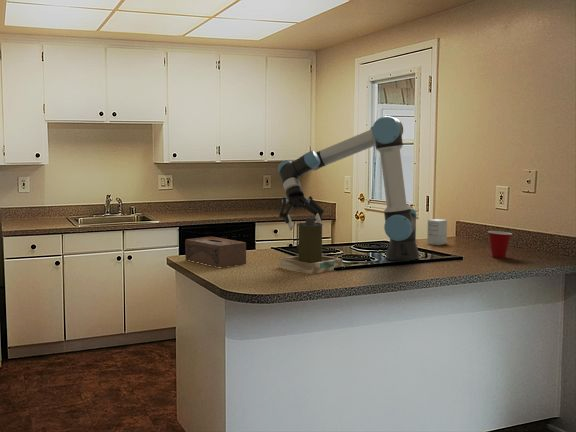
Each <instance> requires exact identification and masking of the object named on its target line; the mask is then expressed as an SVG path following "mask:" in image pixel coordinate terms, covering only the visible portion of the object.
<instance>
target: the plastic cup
mask: <svg viewBox="0 0 576 432" xmlns="http://www.w3.org/2000/svg"><path fill="white" fill-rule="evenodd" d="M487 233H488V236H489V244H490V245H489V246H490V251H491V256H492V258H496V259H505V258H506V256H507V250H508V248H509V243H510V238H511V236H512V235H513V233H512V232H508V231H498V230H487Z"/></svg>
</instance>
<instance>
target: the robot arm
mask: <svg viewBox="0 0 576 432" xmlns="http://www.w3.org/2000/svg"><path fill="white" fill-rule="evenodd" d="M403 126H404V125H403V123H402V121H401V120H399V119H398V118H397V117H395V116H394V117H393V116H392V115H384V116H381V117H379V118H377V119H376V120H375V121H374V123H373V126H371V127H370V129H369V130H367V131H364V132H362V133H360V134H357V135H354V136H352V137H349V138H347V139H345V140H342V141H341V142H337V143H336V144H332V145H330V146H327V147H325V148H324V149H321V150H318V151H314V150H310V151H308V152H306V153H304V154H303V155H301V156H300V157H298V158H297V159H295V160H294V161H291V160H289V159H287V160H283V161H281V162H280V163H279V164H278V166H277V169H278V176H279V179H280V180H281V183H282V185H283V189H284V192H285V195H286V197H285V196H284V197H282V199H281V207H280V211H279V214H278V217H279V218H282V219H283V220H284V223H285V224H287V225H288V229H289V231H292V230H293V228H294V224H293V221H292V218H291V216H290V212H291V211H292V210H293V208H295V209H298V208H299V209H300V208H303V209H304V210H306V211H308V212H310V213H311V214H313V215H314V218H317V219H315V222H316V223H321V224H323V222H322V221H323V218H322V215H324V214H323V213H324V210H323V208H322V207H320V205H319V204H318V203H316V201H315V200H314V199H313V197H312V196H308V197H306V196H305V193H304V191H303V188H302V185H301V183H300V179H299V178H301V177H302V176H303V175H305V174H306V173H309V172H310V171H317V170H319V169H322V168H324V167H326V166H328V165H330V164H333V163H336V162H338V161H340V160H344V159H345V158H348V157H350V156H354V155H355V154H358V153H360V152H362V151H365V150H367V149H370V148H373V147H375V149H376V151H377V152H378V153H379V154H380V163H381V169H382V178H383V186H384V195H385V202H386V207H385V209H384V211H383V214H384V227H383V228H384V232H385V235H387V236H386V237H388V238H389V243H388V247H387V249H386V252H385V259H386V258H387V260H389V259H390V260H389V261H395V260H414V261H416V260H415V259H418V260H420V253H419V248H418V245H417V242H416V239H417V237H416V235H417V211H416V209H414V208H411V207H410V206H409V205H408V203H407V197H406V189H405V181H404V173H403V164H402V157H401V156H402V155H401V149H402V148H403V146H404V144H403V134H404V127H403ZM287 203H288V204H289V206H288V207H287V209H286V211H285V207H286V205H287Z"/></svg>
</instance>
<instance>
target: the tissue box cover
mask: <svg viewBox="0 0 576 432" xmlns="http://www.w3.org/2000/svg"><path fill="white" fill-rule="evenodd" d="M184 245H185V248H184V249H185V252H184V253H185V261H186V260H190V261H194V262H199V263H203V264H207V265H211V266H216V267H226V268H228V267H227V266H233V267H236V266H235V265H239V266H244V265H243V264H246V265H247V242H245V241H239V240H235V239H229V238H228V239H227V238H224V237H223V238H221V237H217V236H204V237H196V238H195V237H194V238H186V239H185V241H184ZM211 266H210V267H211Z"/></svg>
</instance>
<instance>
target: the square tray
mask: <svg viewBox="0 0 576 432" xmlns="http://www.w3.org/2000/svg"><path fill="white" fill-rule="evenodd" d="M343 262H344V261H343V258H339V257H333V256H327V255H323V254H322V262H316V263H306V262H300V261H299V255H294V256H287V257H281V258H279V264H277V269H281V268H282V270H286V269H287V271H292V272H296V271H297V272H296V273H301V272H302V274H306V273H307V275H315V274H320V273H324V272H325V273H326V272H331V271H332V272H333V271H335V270H334V268H335V267H341V266H344V267H345V264H343Z"/></svg>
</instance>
